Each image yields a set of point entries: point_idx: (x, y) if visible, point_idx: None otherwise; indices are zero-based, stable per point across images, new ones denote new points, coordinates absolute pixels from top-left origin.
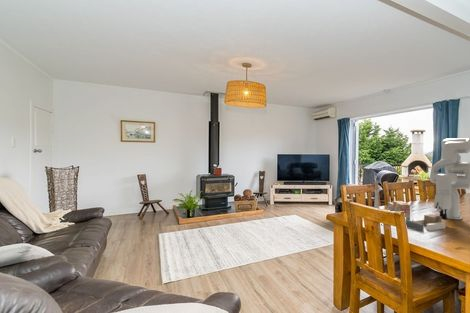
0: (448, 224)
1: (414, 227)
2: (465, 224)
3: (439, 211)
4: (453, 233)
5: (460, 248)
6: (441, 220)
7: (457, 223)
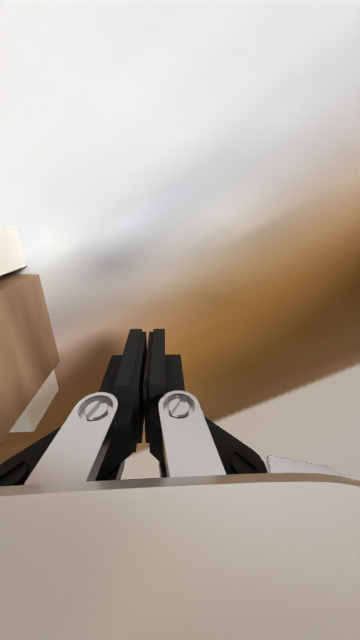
0: (204, 335)
1: None
2: (333, 374)
3: (25, 458)
4: (2, 461)
5: None
6: (23, 410)
7: (316, 340)
